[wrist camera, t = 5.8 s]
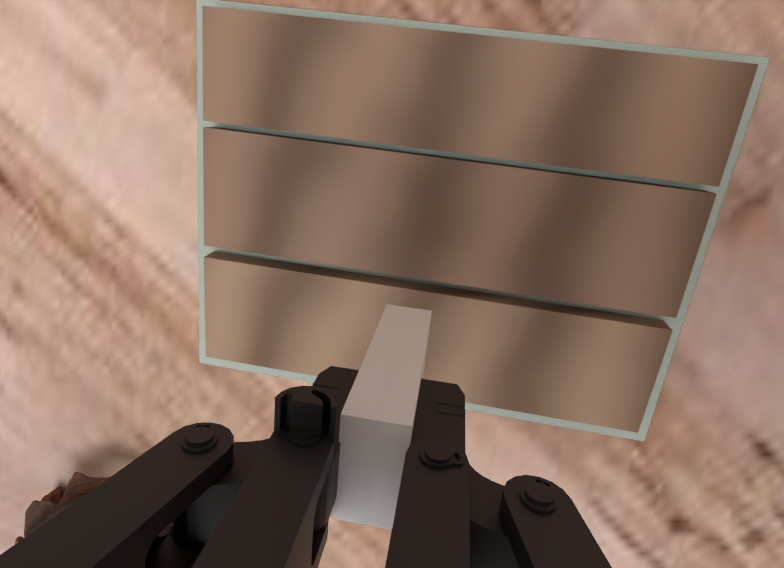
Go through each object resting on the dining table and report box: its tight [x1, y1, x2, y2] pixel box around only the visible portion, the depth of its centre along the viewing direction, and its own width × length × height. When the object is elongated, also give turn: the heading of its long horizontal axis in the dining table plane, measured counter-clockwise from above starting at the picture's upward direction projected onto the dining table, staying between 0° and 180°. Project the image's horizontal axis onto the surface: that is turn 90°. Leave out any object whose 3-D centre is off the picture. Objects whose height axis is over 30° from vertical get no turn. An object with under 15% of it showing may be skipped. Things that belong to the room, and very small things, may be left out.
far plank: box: [204, 251, 673, 433], centre depth 27 cm, size 24×6×1 cm, turn 84°
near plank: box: [203, 127, 717, 318], centre depth 25 cm, size 24×6×1 cm, turn 84°
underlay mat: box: [196, 0, 770, 441], centre depth 26 cm, size 26×20×1 cm
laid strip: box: [202, 6, 759, 187], centre depth 23 cm, size 24×5×1 cm, turn 84°
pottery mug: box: [15, 472, 110, 544], centre depth 33 cm, size 12×10×8 cm
